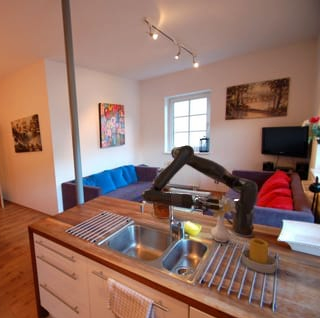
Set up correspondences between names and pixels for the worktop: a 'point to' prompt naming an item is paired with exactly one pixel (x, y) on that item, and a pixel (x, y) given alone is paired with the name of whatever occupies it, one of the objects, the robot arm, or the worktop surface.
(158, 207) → the vessel
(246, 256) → the bowl
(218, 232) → the flower vase
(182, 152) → the robot arm
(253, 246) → the yellow hollow cylinder
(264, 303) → the worktop surface
